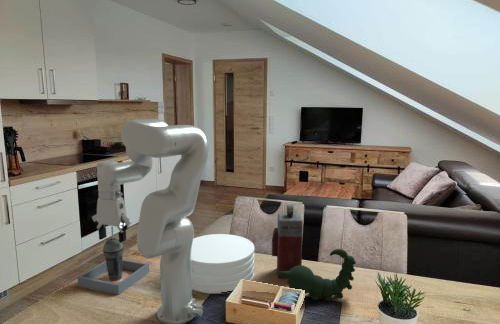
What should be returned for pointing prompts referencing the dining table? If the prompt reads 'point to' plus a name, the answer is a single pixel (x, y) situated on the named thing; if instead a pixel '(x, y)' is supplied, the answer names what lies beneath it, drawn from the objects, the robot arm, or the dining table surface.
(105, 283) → the grey square frame
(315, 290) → the toy figurine
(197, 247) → the plate stack
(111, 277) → the beverage cup
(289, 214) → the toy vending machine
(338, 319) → the dining table surface
